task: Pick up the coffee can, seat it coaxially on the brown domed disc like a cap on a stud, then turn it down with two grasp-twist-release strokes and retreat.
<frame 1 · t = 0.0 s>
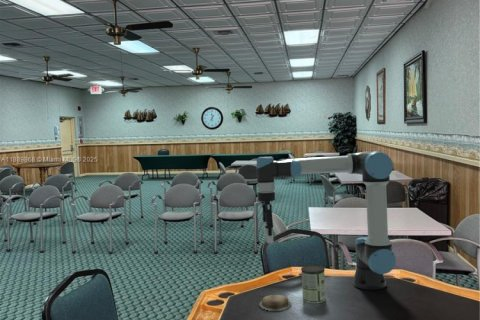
hand: (268, 239, 194), 28 cm above the table, fingers open, 13 cm apart
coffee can: (314, 299, 195), on the table
brown domed disc: (275, 305, 191), on the table
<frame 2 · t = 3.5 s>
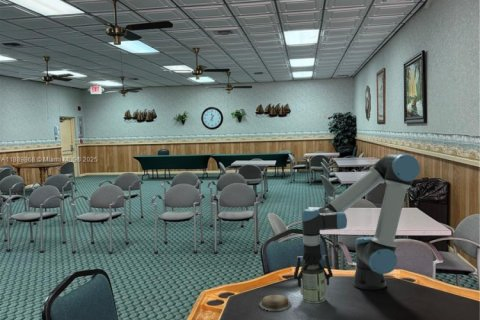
hand: (313, 293, 195), 3 cm above the table, fingers closed on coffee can, 10 cm apart
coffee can: (313, 299, 195), on the table, touching gripper
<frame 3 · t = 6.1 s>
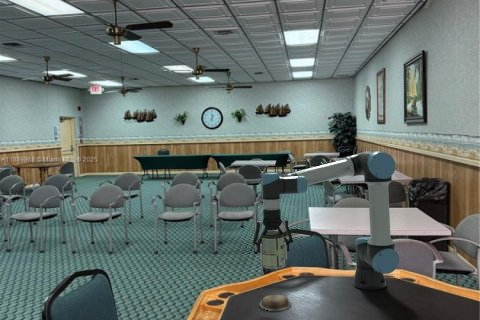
hand: (273, 259, 190), 20 cm above the table, fingers closed on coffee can, 10 cm apart
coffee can: (273, 266, 190), point 17 cm above the table, touching gripper
when the fingers open (7 cm above the table, at t = 9.1 s): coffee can drops 1 cm, resting on brown domed disc.
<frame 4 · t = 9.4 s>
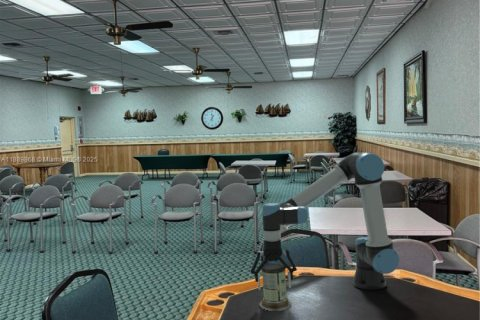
hand: (274, 288, 190), 8 cm above the table, fingers open, 13 cm apart
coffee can: (275, 299, 191), point 2 cm above the table, touching brown domed disc
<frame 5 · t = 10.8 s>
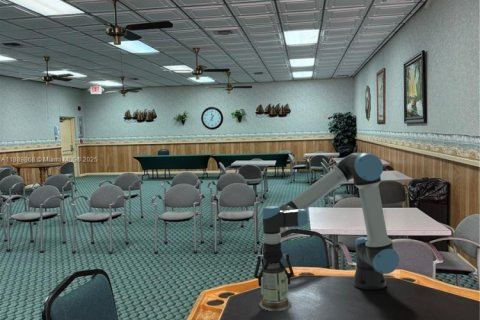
hand: (274, 292, 190), 6 cm above the table, fingers closed on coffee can, 10 cm apart
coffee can: (274, 299, 191), point 2 cm above the table, touching gripper, brown domed disc
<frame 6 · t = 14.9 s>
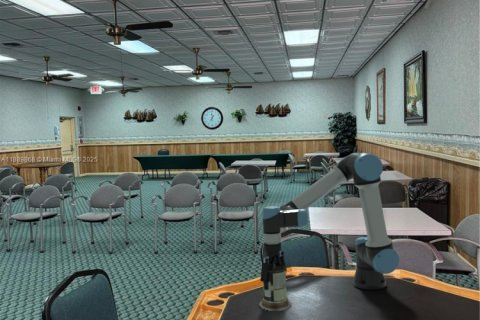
hand: (274, 292, 190), 5 cm above the table, fingers closed on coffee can, 10 cm apart
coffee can: (275, 299, 190), point 2 cm above the table, touching gripper
when the fingers open (5 cm above the table, at t = 14.9 s): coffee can stays where it is, resting on brown domed disc.
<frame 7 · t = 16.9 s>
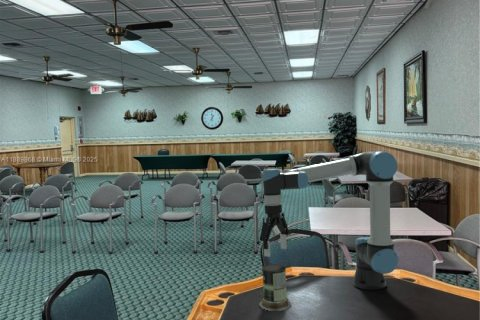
hand: (275, 252, 191), 23 cm above the table, fingers open, 13 cm apart
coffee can: (275, 299, 190), point 2 cm above the table, touching brown domed disc
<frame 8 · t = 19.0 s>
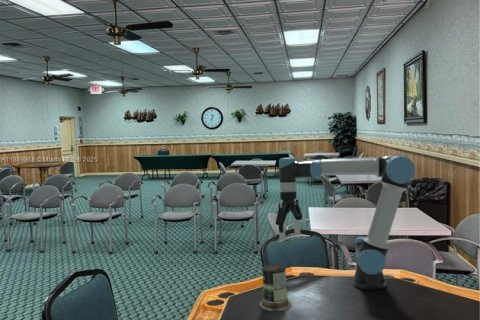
hand: (290, 236, 204), 27 cm above the table, fingers open, 13 cm apart
nothing on the table moved.
at the end: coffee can 0.1 cm off-centre on the brown domed disc, point 2.4 cm above the brown domed disc's base; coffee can tilted 0°; the gripper is holding nothing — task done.
